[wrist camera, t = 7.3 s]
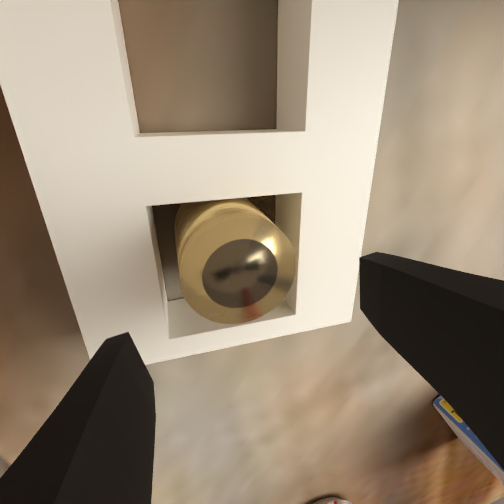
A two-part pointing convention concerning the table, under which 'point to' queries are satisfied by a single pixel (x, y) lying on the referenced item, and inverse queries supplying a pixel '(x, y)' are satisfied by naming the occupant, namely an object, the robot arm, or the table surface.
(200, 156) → the jig plate
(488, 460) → the ink cartridge box
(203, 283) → the brass bushing
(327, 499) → the soda can
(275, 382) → the table surface
